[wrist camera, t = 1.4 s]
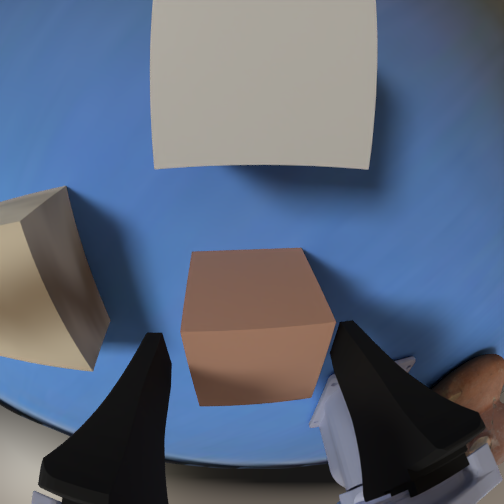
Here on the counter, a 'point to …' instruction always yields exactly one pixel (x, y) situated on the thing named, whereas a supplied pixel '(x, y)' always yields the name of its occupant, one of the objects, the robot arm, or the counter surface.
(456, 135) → the counter surface
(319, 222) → the counter surface
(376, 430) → the robot arm
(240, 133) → the grey block
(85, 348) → the birch plinth
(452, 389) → the ceramic jug
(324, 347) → the terracotta cube
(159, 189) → the counter surface
